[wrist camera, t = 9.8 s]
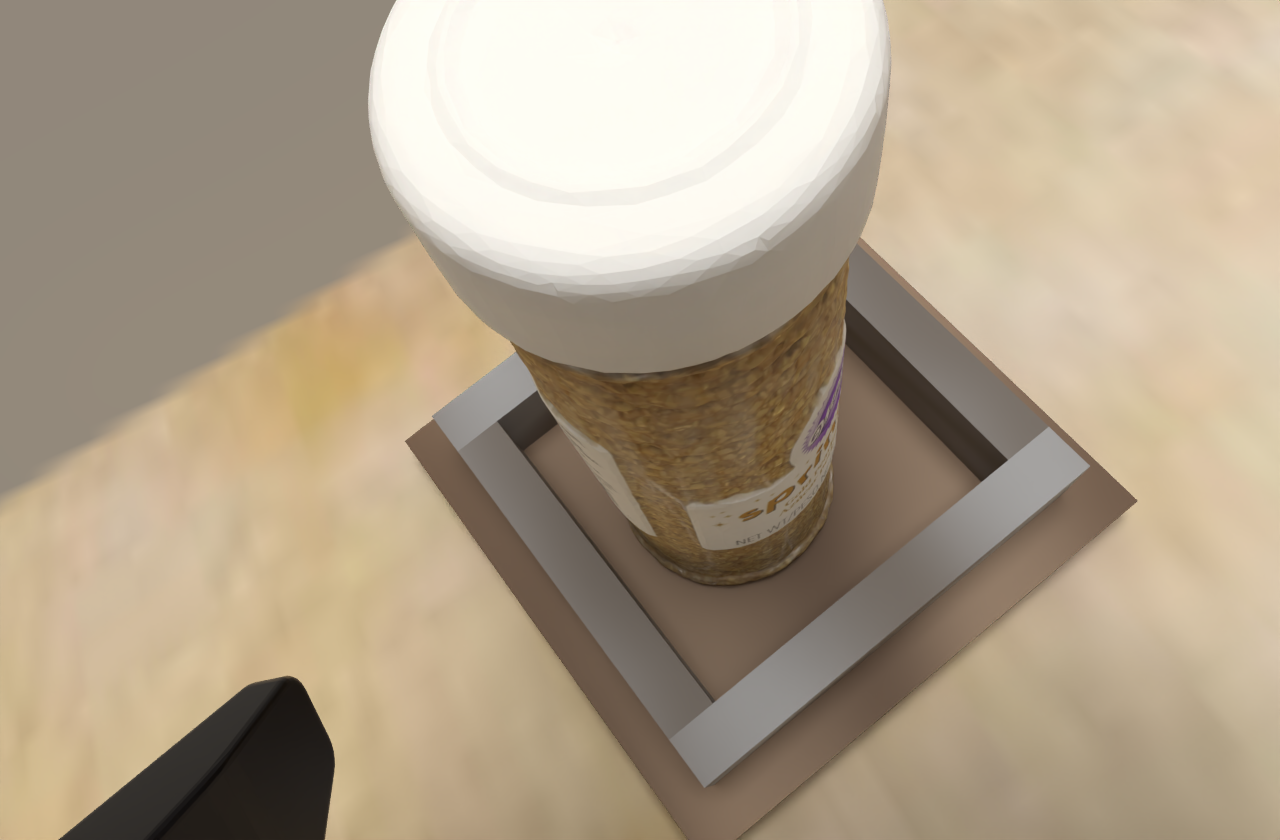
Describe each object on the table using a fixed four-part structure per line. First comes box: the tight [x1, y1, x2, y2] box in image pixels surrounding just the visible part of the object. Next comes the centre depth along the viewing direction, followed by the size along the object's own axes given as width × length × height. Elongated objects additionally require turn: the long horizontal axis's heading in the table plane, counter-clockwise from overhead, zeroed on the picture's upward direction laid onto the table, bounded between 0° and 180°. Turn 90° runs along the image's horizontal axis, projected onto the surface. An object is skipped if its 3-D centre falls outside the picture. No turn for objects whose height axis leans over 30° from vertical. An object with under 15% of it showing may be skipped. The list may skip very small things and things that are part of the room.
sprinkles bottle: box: [368, 0, 891, 585], centre depth 14 cm, size 5×5×13 cm
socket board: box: [405, 238, 1137, 840], centre depth 20 cm, size 11×11×3 cm
